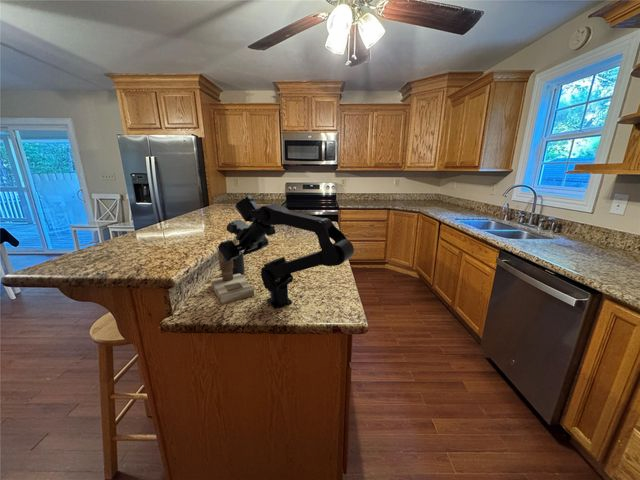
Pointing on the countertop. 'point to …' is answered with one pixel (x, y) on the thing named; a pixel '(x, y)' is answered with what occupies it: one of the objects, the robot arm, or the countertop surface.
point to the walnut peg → (226, 268)
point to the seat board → (232, 288)
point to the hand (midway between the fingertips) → (234, 257)
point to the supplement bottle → (238, 264)
